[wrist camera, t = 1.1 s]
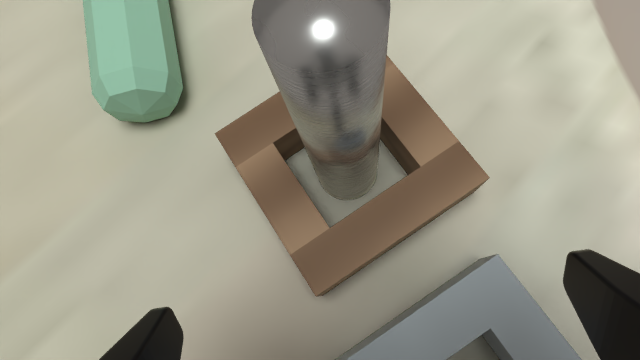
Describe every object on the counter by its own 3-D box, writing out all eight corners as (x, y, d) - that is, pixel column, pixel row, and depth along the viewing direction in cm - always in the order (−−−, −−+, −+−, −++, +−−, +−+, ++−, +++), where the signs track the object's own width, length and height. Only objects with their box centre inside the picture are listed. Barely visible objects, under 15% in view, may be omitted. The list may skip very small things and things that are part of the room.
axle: (388, 178, 23) (419, 19, 9) (339, 211, 23) (298, 98, 9) (354, 132, 24) (338, -70, 10) (307, 164, 24) (227, -1, 10)
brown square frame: (473, 192, 22) (489, 177, 19) (322, 295, 22) (315, 296, 19) (368, 63, 25) (368, 33, 22) (232, 151, 24) (214, 133, 21)
